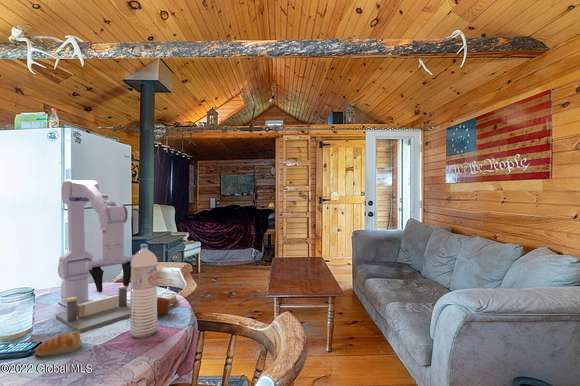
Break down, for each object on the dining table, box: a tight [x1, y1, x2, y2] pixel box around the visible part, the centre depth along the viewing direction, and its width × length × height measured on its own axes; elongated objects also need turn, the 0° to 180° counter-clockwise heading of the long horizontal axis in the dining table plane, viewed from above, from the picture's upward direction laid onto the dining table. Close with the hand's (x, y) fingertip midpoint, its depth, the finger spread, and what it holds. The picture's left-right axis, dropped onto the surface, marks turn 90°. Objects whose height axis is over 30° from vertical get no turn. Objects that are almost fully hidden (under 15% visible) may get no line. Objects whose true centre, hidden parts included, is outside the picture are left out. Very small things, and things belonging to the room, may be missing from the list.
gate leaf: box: [77, 294, 119, 318], centre depth 102 cm, size 12×2×4 cm, turn 144°
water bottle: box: [129, 243, 158, 339], centre depth 90 cm, size 7×7×25 cm
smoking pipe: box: [157, 295, 178, 317], centre depth 110 cm, size 7×18×6 cm, turn 7°
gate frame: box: [55, 285, 131, 333], centre depth 103 cm, size 18×19×8 cm
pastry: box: [34, 330, 82, 357], centre depth 80 cm, size 9×7×4 cm
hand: (113, 288), depth 98 cm, fingers open, 7 cm apart
